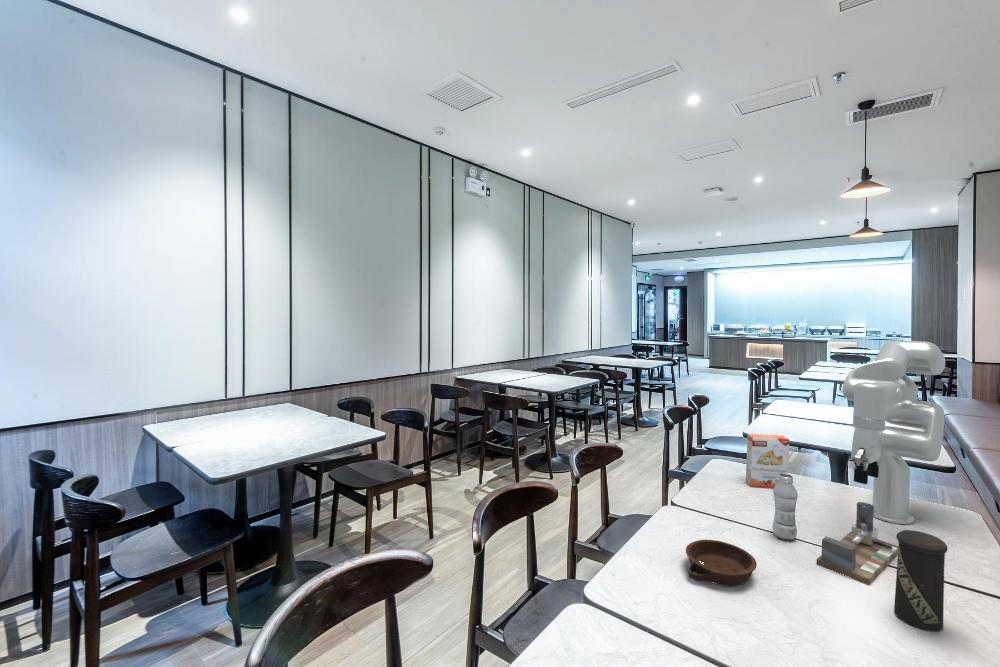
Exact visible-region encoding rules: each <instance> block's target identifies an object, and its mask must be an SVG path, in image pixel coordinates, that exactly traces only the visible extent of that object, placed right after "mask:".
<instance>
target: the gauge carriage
mask: <svg viewBox="0 0 1000 667" xmlns="http://www.w3.org/2000/svg"><path fill="white" fill-rule="evenodd" d="M874 518H875V517H874V506H873V505H872V503H868V502H862V501H861V502H860V501H858V502H857V503H856V518H855V520H856V522H855V523H854V524H852V526H851V529H850V532H851V539H852V542H853V543H854V544H858V543H859V542H861V543H864V544H867V545H870V546H872V545H873V544H877V545H880V546H883V547H886V548H889V549H892V546H890V545H886V544H883V543H880V542H877V539H878V527H875V526H874Z"/></svg>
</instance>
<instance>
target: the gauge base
mask: <svg viewBox="0 0 1000 667" xmlns="http://www.w3.org/2000/svg"><path fill="white" fill-rule="evenodd" d="M877 542H880V543H883V544H886V545H890V546H892V549H889V548H886V547H883V546H880V545H877V544H873V545H872V546H870V545H867V544H864V543H861V542H859V543H858V544H854V543H853V542H852V539H851V531H850V532H849V533H847V534H846V535H844V537H842V538H841V539H839V540H838V539H835V538H833V537H829V536H828V535H827V536H824V537H823V538H822V539H821V555H819V556H818V557H817V558H816V560H815V562H816V565H817V564H818V566H820V565H821V566H820V567H822V566H823V568H825V569H828V570H830V571H832V570H833V572H835V571H836V572H835V573H837V572H838V573H837V574H840V573H841V575H842V574H844V575H843V576H845V575H846V576H845V577H847V576H849V577H848V578H850V577H851V578H850V579H852V578H853V580H855V581H857V580H858V582H859V583H863V584H865V585H868V586H870V585H871V584H872V583H873V581H875V580H876V579H877V577H879V576H880V574H882V572H883V571H884V570H885V569H886V568H887V567H888V566H889V565H890V564H891V563H892V562H893V560H894V559H895V558H897V557H898V545H896V544H894V543H893V544H892V543H890V542H887V541H884V540H881V539H878V538H877Z"/></svg>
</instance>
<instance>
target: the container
mask: <svg viewBox="0 0 1000 667" xmlns="http://www.w3.org/2000/svg"><path fill="white" fill-rule="evenodd" d="M895 536H896V540H897V541H898V542H897V543H898V544H897V546H898V555H897V559H896V560H897V562H896V563H897V564H896V565H897V566H896V575H895V576H896V578H895V591H894V592H895V593H894V602H893V604H894V606H893V609H894V610H893V611H894V614H895V616H896V617H897V618H899V619H900V621H902V622H904V623H906V624H907V625H908V624H909V625H910V626H911V627H915V628H918V629H921V630H925V631H929V632H930V631H931V632H938V631H941V630H942V629H944V600H945V599H944V595H945V594H944V593H945V558H946V555H945V554H946V553H947V552H948V548H949V547H948V545H947V544H946V543H945V542H944V541H943V540H942V539H941V538H939V537H937V536H935V535H932V534H929V533H927V532H922V531H918V530H913V529H911V530H909V529H905V530H901V531H899V532H897V533H896V535H895Z"/></svg>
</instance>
